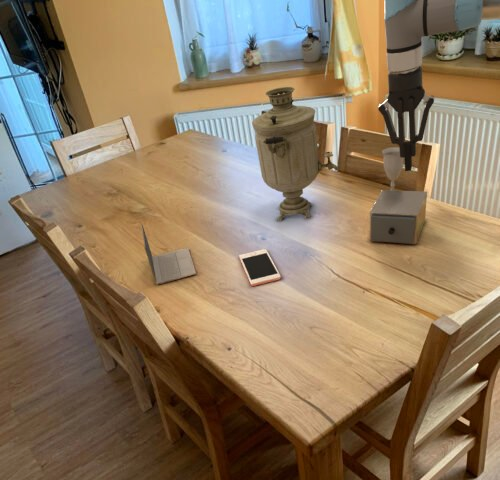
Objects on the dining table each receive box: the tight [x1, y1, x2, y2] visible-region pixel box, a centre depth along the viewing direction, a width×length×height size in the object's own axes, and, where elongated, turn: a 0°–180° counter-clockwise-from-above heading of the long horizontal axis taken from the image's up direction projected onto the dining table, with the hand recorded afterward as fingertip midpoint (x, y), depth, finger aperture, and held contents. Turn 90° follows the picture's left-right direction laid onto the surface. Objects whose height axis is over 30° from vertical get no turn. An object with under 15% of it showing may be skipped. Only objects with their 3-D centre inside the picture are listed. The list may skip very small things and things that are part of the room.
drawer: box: [370, 215, 415, 245], centre depth 149 cm, size 16×12×8 cm
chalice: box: [381, 146, 404, 191], centre depth 163 cm, size 7×7×18 cm
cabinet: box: [369, 189, 428, 246], centre depth 151 cm, size 16×14×10 cm
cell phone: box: [238, 248, 282, 287], centre depth 148 cm, size 9×18×1 cm, turn 12°
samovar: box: [251, 86, 340, 222], centre depth 161 cm, size 30×26×40 cm
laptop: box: [140, 222, 197, 285], centre depth 153 cm, size 18×12×13 cm
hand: (408, 168), depth 127 cm, fingers closed
